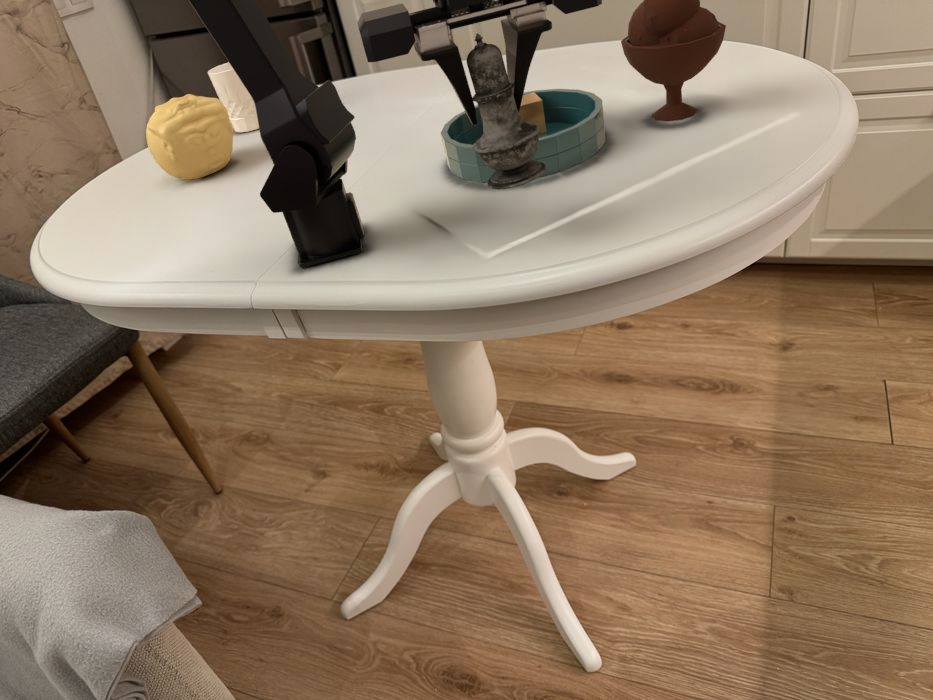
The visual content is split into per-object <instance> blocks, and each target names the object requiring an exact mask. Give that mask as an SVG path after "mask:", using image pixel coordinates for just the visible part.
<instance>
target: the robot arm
mask: <svg viewBox="0 0 933 700" xmlns="http://www.w3.org/2000/svg"><path fill="white" fill-rule="evenodd" d="M187 1H188V2H189V3H190V5H191V7H192V8H193V10H194V11H195V13H196V14H197V16H198V17H199V19H200V20H201V22H202V24H203V25H204V26H205V28H206V30H207V31H208V33H209V34H210V37H212V39H213V41H214V43H216V45H217V47H218V48H219V50H220V51H221V53H222V54H223V56H224V57H225V59H226V60H227V63H228V62H229V63H230V65H231V66H232V68H233V69H234V71H235V72H236V74H237V75H238V77H239V79H240V80H241V82H242V83H243V85H244V86H245V88H246V89H247V91H248V92H249V94H250V95H251V97H252V99H253V101H254V103H255V108H256V113H257V119H258V124H259V136H260V140H261V141H262V144H263V146H264V147H265V149H266V152H267V153H268V155H269V158H270V159H271V161H272V164H273V166H272V169H271V170H270V172H269V175H268V177H267V178H266V180H265V182H264V184H263V186H262V188H261V190H260V192H259V196H260V198H261V200H262V201H263V202H264V204H265V205H266V206H267V207H268V208H269V210H270V211H271V212H272V213H274V214H276V213H282V216H283V218H284V220H285V223H286V225H287V228H288V231H289V233H290V235H291V239H292V241H293V243H294V246H295V249H296V252H297V254H298V255H297V264H298V267H299V268H306V267H310V266H313V265H314V266H315V265H318V264H321V263H326V262H329V261H333V260H336V259H340V258H344V257H348V256H351V255H355V254H359V253H361V252H362V251H363V244H362V243H363V242H362V240H363V239H364V238H365V231H364V226H363V222H362V219H361V216H360V212H359V210H358V206H357V203H356V200H355V197H354V194H353V192H350V191H349V192H347V191H346V187H345V184H344V181H343V179H342V177H343V176H345V175H346V174H347V173H348V164H349V163H348V162H349V161H348V160H349V158H350V157H351V155H352V153H354V151H355V145H356V140H357V136H356V135H357V134H356V131H355V129H354V128H355V127H354V126H353V124H352V122H353V121H354V120H355V117H356V116H355V115H353V113H351V112H350V110H348V109H347V108H346V106H345V105H344V103H343V102H342V99H341V98H340V94H339V92H338V91H337V87H336V86H335V84H334V83H333V82H332V80H331V79H328V80H326V81H325V82H323V83H322V84H321V85H320V86H318V85H317V84H316V83H314V82H313V81H312V80H311V79H310V78H308V77H306V76H305V75H304V74H302V73H301V71H300V70H299V69H298V68H297V66H296V64H295V63H294V61H293V59H292V58H291V56H290V55H289V53H288V52H287V49H286V48H285V46H284V44H283V43H282V41H281V40H280V38H279V36H278V34H277V32H275V30H274V28H273V27H272V25H271V23H270V22H269V20H268V18H267V17H266V15H265V13H264V12H263V10H262V8H261V7H260V5H259V3H258V2H257V0H187ZM432 2H433V3H434V5H435V6H434V7H433V6H432V7H429V8H425V9H421V10H417V11H413V12H409V10H408V9H407V7H406V6H405V5H404V3H398V4H394V5H389V6H387V7H386V6H385V7H381V8H378V9H374V10H373V9H372V10H370V11H367V12H362V13H361V15H360V17H359V18H358V19H357V27H358V32H359V35H360V38H361V42H362V46H363V50H364V53H365V57H366V60H367V63H377V62H381V61H386V60H389V59H394V58H396V57H401V56H404V55H405V56H406V55H409V53H410V51H411V50H412V48H414V51H415V52H416V54H417V56H418V57H419V59H420V60H421V61H422V62H430V61H435V62H436V63H437V66H438V67H439V68H440V69H441V70H442V72H443V74H444V75H445V77H446V78H447V80H448V82H449V83H450V85H451V87H452V90H453V91H454V93H455V95H456V97H457V99H458V100H459V102H460V104H461V106H462V108H463V111H465V112H466V114H467V116H468V117H469V119H470V121H471V123H472V124H473V125H477V116H476V109H475V106H476V104H475V103H474V102H475V101H473V95H472V91H471V88H470V85H469V81H468V78H467V75H466V74H467V73H466V71H465V67H464V63H463V60H462V57H461V53H460V50H459V47H458V45H457V44H456V43H455V42H454V41H453V39H451V37H450V36H451V35H452V34H451V31H452V30H455V29H459V28H463V27H467V26H470V25H474V24H475V25H476V24H480V23H483V22H486V21H491V20H495V19H499V18H502V17H506V18H504V19H500V24H501V29H502V34H503V40H504V46H505V61H506V72H507V76H508V80H509V83H513V84H514V85H515V88H514V89H513V95H514V99H515V103H516V107H517V110H518V112H519V111H520V106H521V102H522V98H523V93H524V92H525V88H526V84H527V80H528V75H529V71H530V68H531V63H532V61H533V58H534V56H535V53H536V51H537V47H538V44H539V41H540V39H541V36H542V34H543V33H545V32H548V31H551V30H552V29H553V21H551V20H550V19H548V18H547V16H546V15H547V14H546V12H547V11H548V8H547V6H550V5H552V6H554V7H555V8H556V9H557V10H559V11H560V12H561V13H562V14H564V15H569V14H572V13H576V12H580V11H585V10H588V9H593V8H597V7H599V6H600V5H602V4H603V0H432Z"/></svg>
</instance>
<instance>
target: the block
mask: <svg viewBox="0 0 933 700" xmlns="http://www.w3.org/2000/svg"><path fill="white" fill-rule="evenodd" d="M519 114H520V116H521V118H522V120H523V121H525V122H531V123H536V124H538V125H539V126H540V131H539V132H538V135H539V134H543V133H546V132H547V131H546V124H545V117H544V109H543V102H542V99H541V98H540V97H539V96H538V95H537V94H536V93H535V92H533V93H529V94H525V95H523V98H522V102H521V106H520V111H519Z"/></svg>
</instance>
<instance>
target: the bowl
mask: <svg viewBox="0 0 933 700" xmlns="http://www.w3.org/2000/svg"><path fill="white" fill-rule="evenodd" d="M533 92H535V93H536V94H537V95H538V96H539V97H540V98H541V99H542V102H543V109H544V117H545V124H546V131H547V132H546V133H543V134H539V135H538V148H537V151H536V153H535V155H534V156H533V158H532V159H531V160H536V161H539V162H542V163H544V164H545V165H546V170H545V172H544V173H543V174H542V175H541V176H540V177H539V178H542V177H547V176H550V175H554V174H557V173H559V172H563V171H565V170H568V169H571V168H573V167H576V166H577V165H579V164H581V163H584V162H585V161H587V160H589V159H590V158H592V157H593V156H594V155H596V154H597V153H598V152H599V151H600V150H601V149H602V148H603V146H604V145H605V143H606V130H605V129H606V128H605V118H604V106H603V99H602V98H601V97H599V96H598V95H596V94H595V93H593V92H590V91H586V90H583V89H573V88H551V89H537V90H530V91H524V93H523V95H525V94H529V93H533ZM475 109H476V116H477V125H473V124H472V123H471V121H470V119H469V117H468V116H467V114H466V112H465V110H463V111H461V112H459V113H458V114H456V115H454V116H453V117H452V118H451V119H449V120H448V121H446V123H444V125H443V127H442V129H441V131H440V137H441V141H442V146H443V151H444V156H445V159H446V164H447V167H448V168H449V171H450V173H451V174H453V175H454V176H456V177H458V178H460V179H462V180H466V181H470V182H474V183H475V182H476V183H484V184H485V183H488V180H489V178H490V177H491V176H492V175H493V173H494V172H495V171H497V170H494V169H492V168H490V167H488V166H486V165H485V163H484V162H483V161H482V160H481V158H480V157H479V153H478V152H476V151H474V149H473V145H474V143H475V142H476V141H477V140H478V139H479V138H481V137H482V135H483V121H482V117H481V114H480V110H479V107H478V104H477V105H475Z"/></svg>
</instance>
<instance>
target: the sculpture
mask: <svg viewBox="0 0 933 700" xmlns="http://www.w3.org/2000/svg"><path fill="white" fill-rule="evenodd" d="M145 134H146V135H145V136H146V144H147V147H148V150H149V153H150V155H151V156H152V158H153V160H154V161H155V163H156V164H157V165H158V166H159V168H160V169H161V170H162V171H164V173H166V174H168V176H171V177H173V178H177V179H182V180H195V179H201V178H204V177H206V176H209V175H211V174H214V173H216V172H218V171H220V170H223V169H224V168H225V167H226V166H227V165H228V164H229V162H230V160H231V158H232V155H233V145H234V134H235V130H234V128H233V126H232V124H231V121H230V119H229V115H228V112H227V109H226V108H225V107H224V105H223V104H222V102H221V101H220V100H219V98H217V97H209V96H207V97H206V96H202V95H195V94H192V93H187V94H185V95H184V96H181V97H172V98H170V99H169V100H168V101H167V102H164V103H163V104H159V105H156V106H155V107H154V112H153V113H152V114H151V116H150V117H149V120H148V122H147V124H146V131H145Z"/></svg>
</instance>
